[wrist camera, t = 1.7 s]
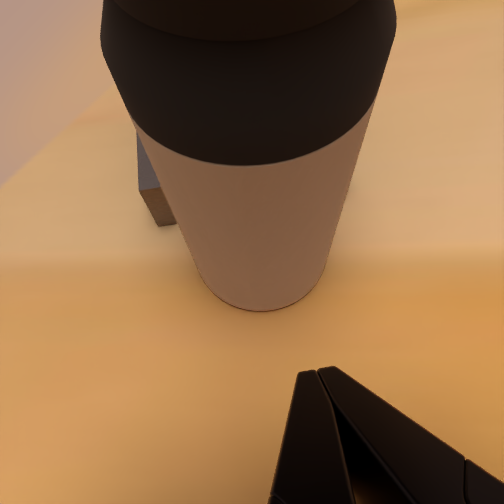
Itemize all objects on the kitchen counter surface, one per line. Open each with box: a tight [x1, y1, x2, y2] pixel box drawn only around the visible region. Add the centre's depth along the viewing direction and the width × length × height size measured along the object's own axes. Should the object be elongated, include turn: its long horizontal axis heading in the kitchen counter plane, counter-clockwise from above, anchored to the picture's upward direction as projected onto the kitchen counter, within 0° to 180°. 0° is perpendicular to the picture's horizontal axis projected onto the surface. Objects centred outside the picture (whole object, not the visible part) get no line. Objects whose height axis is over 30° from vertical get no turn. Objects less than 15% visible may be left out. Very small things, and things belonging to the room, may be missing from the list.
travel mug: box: [100, 0, 396, 311], centre depth 15 cm, size 8×8×18 cm
